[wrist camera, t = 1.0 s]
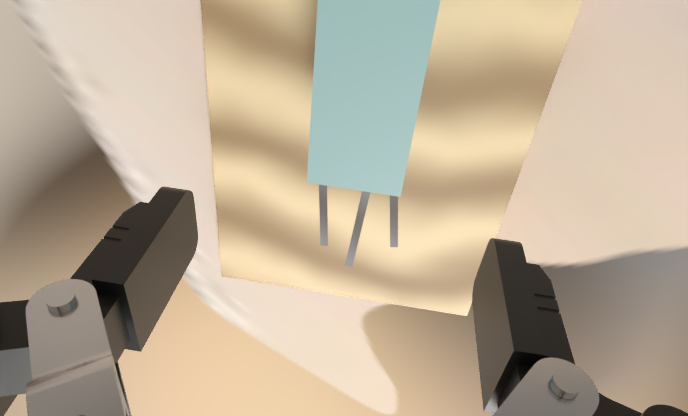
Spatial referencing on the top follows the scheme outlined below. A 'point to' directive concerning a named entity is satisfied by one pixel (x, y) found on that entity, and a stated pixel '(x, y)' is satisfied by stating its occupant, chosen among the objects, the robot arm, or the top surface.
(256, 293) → the top surface
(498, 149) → the board
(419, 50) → the block
